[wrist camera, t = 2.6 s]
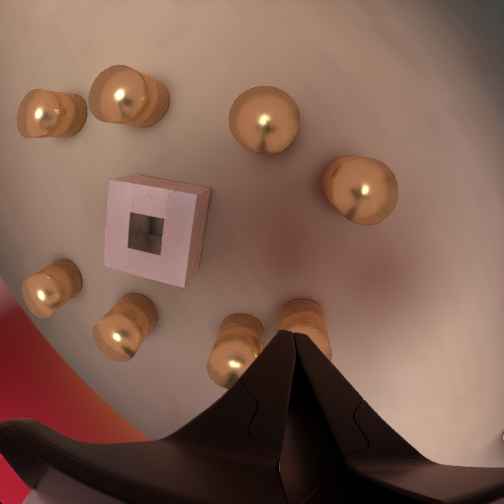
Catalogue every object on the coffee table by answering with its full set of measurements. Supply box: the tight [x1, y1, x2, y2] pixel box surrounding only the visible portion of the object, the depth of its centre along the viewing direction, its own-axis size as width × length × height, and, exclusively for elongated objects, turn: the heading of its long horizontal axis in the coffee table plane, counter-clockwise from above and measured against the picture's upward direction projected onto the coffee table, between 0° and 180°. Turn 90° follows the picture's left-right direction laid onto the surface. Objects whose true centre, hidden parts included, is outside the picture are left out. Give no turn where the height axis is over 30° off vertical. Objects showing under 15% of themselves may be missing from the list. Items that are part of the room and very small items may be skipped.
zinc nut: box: [105, 175, 211, 288], centre depth 16 cm, size 5×5×3 cm
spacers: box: [17, 65, 398, 389], centre depth 16 cm, size 17×22×4 cm
